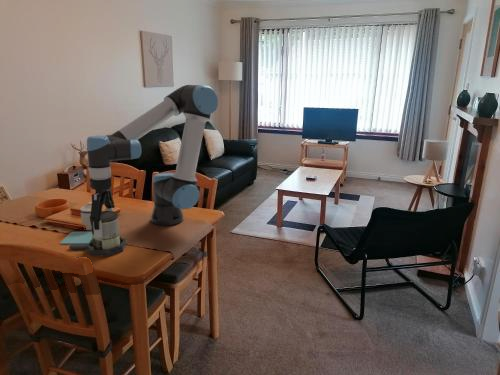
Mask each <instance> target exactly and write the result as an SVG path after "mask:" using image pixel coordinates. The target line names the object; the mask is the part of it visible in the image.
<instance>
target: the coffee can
mask: <svg viewBox="0 0 500 375" xmlns="http://www.w3.org/2000/svg"><path fill="white" fill-rule="evenodd" d="M90 217H91V215H90ZM100 220H101V224H102V237H94V227H93V221H90V223H91V230H90V232H92V241H93V247H92V248H94V249H110V248H113V247H116V246H119V245H121V243H120V237H119V236H120V227H119V226H120V225H119V213H118V212H116V211H114V210H113V211H105V210H102V212H101V218H100Z"/></svg>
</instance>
